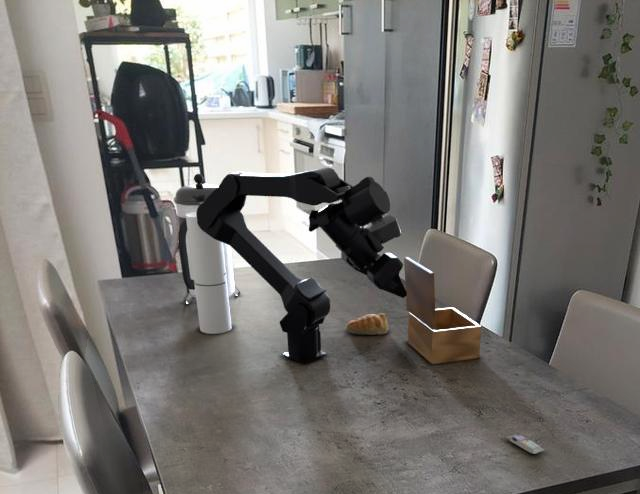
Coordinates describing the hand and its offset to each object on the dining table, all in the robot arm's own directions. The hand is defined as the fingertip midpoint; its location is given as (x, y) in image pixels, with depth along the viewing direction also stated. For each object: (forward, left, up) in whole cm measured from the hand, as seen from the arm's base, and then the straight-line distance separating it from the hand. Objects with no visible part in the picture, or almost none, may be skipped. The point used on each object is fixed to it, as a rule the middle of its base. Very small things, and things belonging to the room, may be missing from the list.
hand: (395, 288), depth 139 cm
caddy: (+9, -6, -14) cm, 17 cm away
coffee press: (-1, +59, -14) cm, 61 cm away
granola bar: (-18, -42, -14) cm, 48 cm away
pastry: (+8, +13, -14) cm, 21 cm away
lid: (+4, -3, -1) cm, 5 cm away
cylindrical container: (-14, +41, -14) cm, 46 cm away
